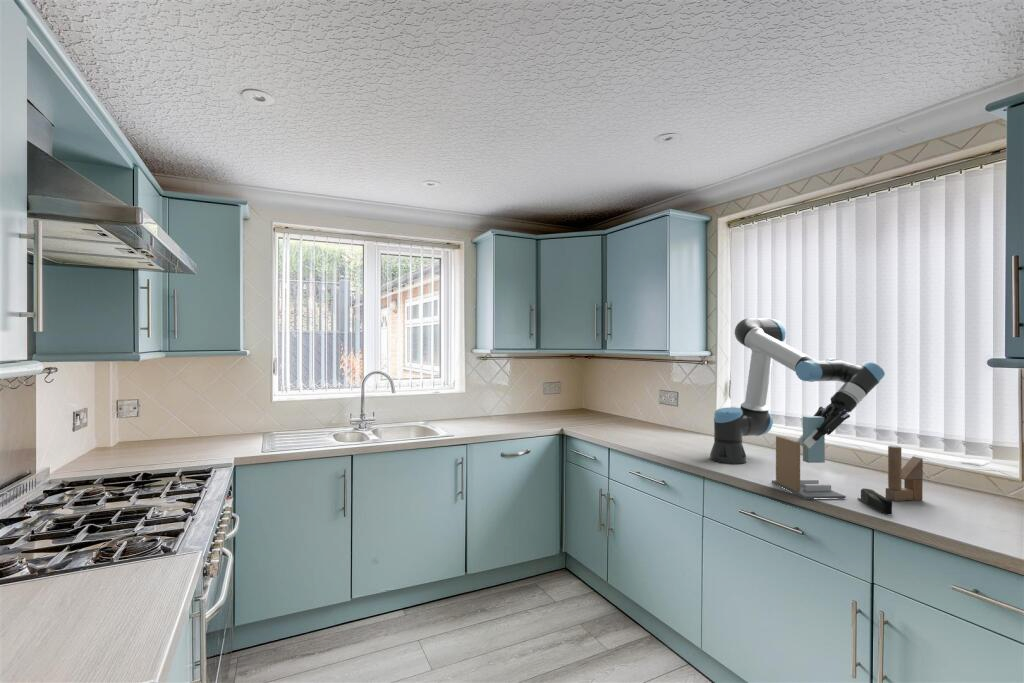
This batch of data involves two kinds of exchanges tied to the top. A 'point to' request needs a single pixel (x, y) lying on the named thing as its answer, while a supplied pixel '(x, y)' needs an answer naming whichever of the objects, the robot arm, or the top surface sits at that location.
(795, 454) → the stand
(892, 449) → the wooden block
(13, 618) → the top surface
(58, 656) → the top surface
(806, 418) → the door panel
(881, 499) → the black stapler
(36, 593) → the top surface
